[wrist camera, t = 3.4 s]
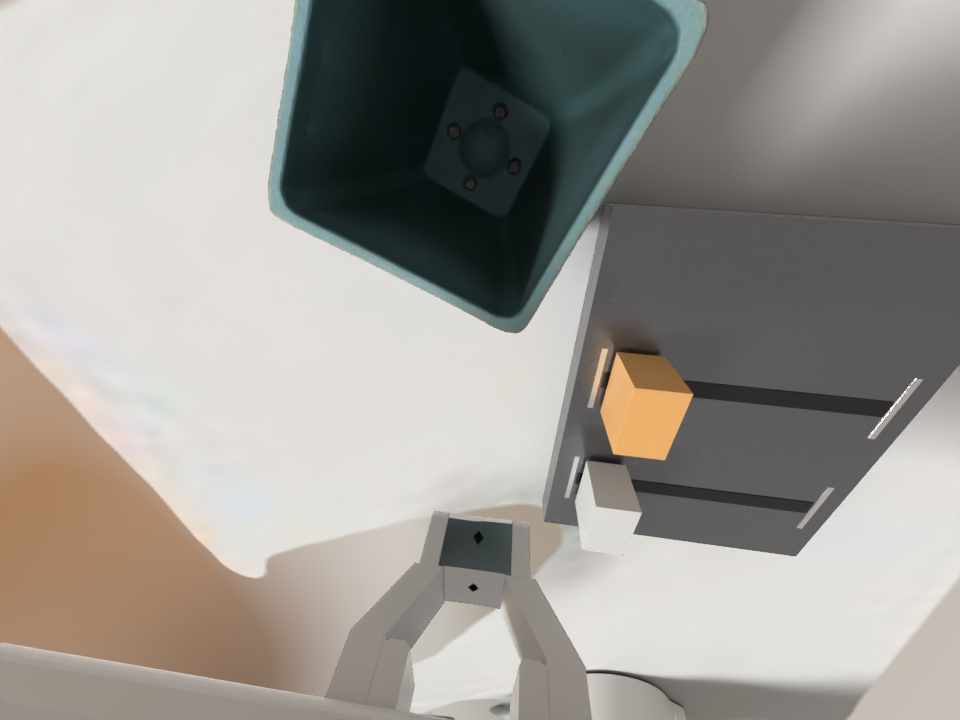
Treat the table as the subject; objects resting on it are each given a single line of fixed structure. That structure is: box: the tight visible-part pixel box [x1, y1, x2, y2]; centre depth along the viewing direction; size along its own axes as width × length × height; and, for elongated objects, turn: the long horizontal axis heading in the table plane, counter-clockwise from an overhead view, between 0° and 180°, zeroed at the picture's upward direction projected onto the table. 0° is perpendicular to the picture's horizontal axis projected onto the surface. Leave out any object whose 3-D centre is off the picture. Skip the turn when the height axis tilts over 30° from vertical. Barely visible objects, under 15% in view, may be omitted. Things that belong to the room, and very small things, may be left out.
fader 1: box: [575, 461, 642, 555], centre depth 21 cm, size 4×2×4 cm, turn 177°
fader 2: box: [600, 352, 693, 460], centre depth 18 cm, size 4×2×4 cm, turn 177°
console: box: [543, 203, 960, 556], centre depth 21 cm, size 22×18×2 cm
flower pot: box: [268, 0, 709, 333], centre depth 13 cm, size 9×9×9 cm
